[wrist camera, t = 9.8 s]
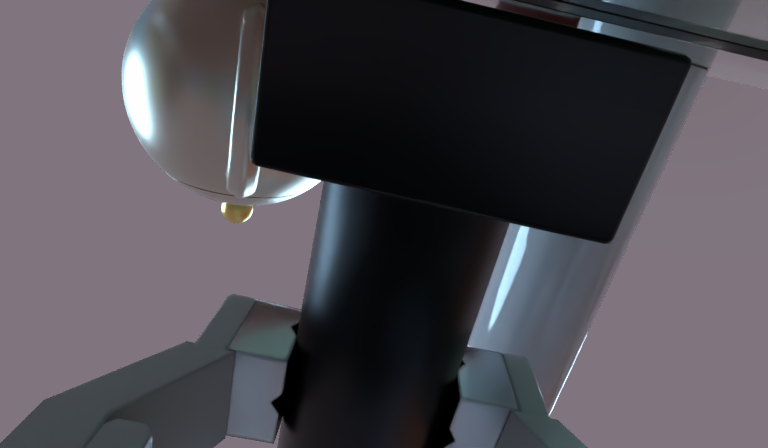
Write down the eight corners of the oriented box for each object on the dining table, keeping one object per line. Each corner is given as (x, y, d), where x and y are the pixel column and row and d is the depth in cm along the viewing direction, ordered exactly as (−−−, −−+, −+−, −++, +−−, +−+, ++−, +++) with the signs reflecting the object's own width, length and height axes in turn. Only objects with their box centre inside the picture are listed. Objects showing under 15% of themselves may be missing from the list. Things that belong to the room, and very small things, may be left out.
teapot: (357, -15, 34) (320, 192, 41) (152, -68, 30) (147, 172, 36) (444, -22, 19) (363, 317, 25) (44, -134, 15) (67, 307, 21)
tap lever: (268, -48, 4) (187, 712, 9) (699, 57, 4) (387, 748, 9) (336, -11, 8) (252, 517, 13) (567, 44, 8) (393, 546, 13)
